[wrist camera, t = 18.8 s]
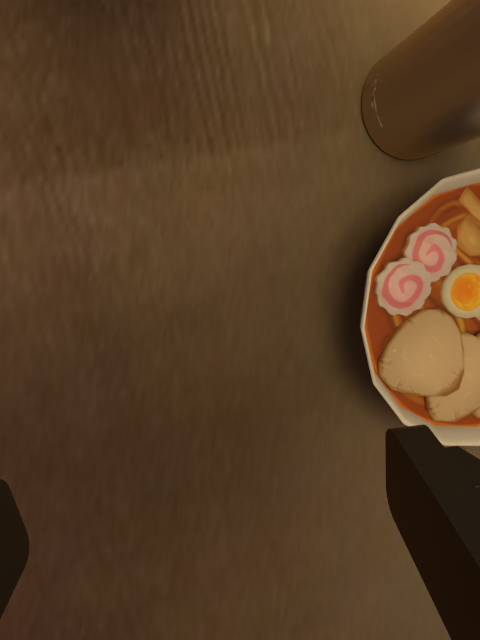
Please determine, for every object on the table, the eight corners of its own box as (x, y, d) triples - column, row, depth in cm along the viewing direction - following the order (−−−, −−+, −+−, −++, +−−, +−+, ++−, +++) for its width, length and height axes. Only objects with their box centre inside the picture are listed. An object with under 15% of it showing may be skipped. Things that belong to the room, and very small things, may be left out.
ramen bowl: (372, 130, 38) (432, 97, 30) (566, 216, 44) (660, 207, 36) (286, 398, 40) (321, 433, 32) (483, 447, 45) (554, 487, 37)
